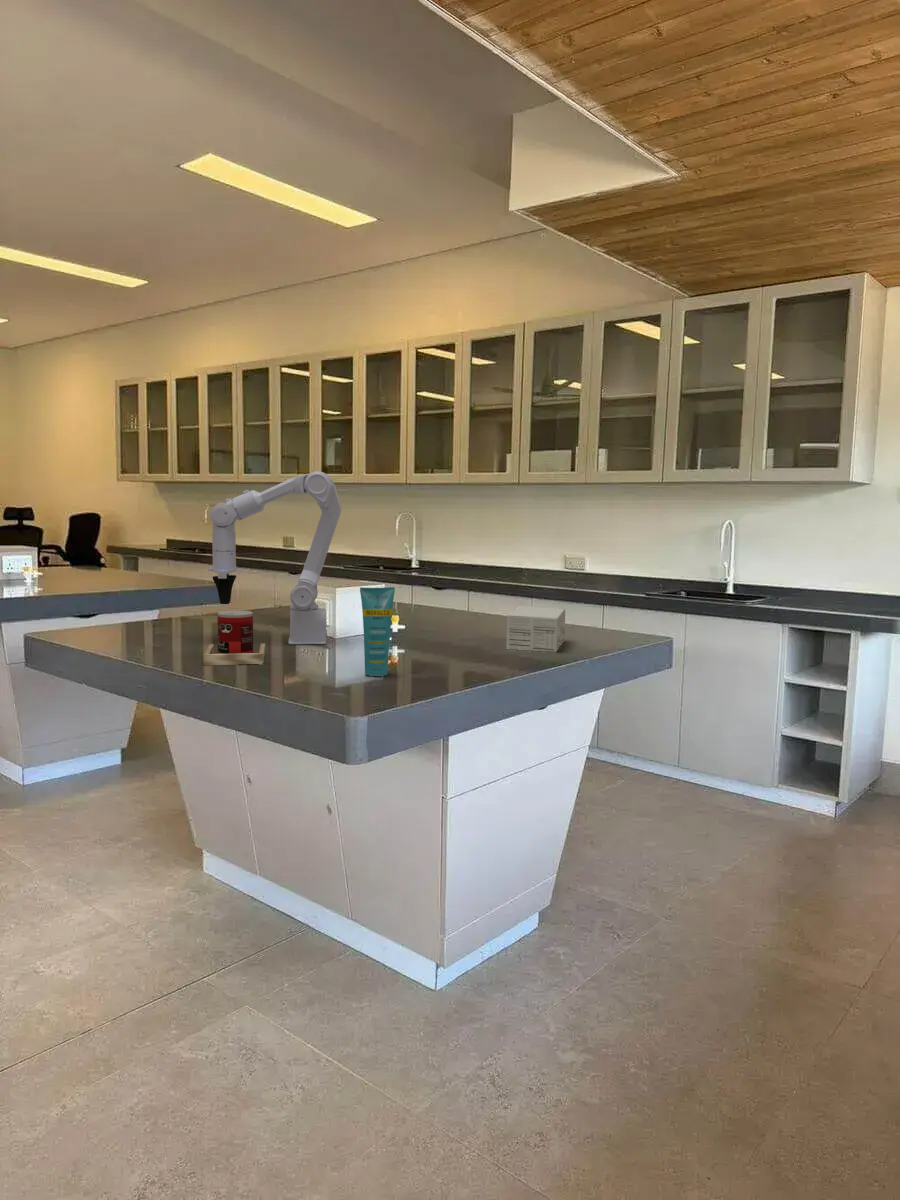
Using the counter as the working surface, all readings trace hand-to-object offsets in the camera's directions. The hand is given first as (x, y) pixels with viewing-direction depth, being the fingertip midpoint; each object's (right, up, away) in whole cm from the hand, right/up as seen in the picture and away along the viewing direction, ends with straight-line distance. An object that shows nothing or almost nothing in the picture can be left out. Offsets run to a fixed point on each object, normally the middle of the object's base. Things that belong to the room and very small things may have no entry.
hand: (224, 603), depth 218 cm
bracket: (+8, -13, -19) cm, 24 cm away
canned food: (+8, -13, -20) cm, 25 cm away
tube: (+42, -16, -33) cm, 56 cm away
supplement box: (+80, -11, +5) cm, 81 cm away
